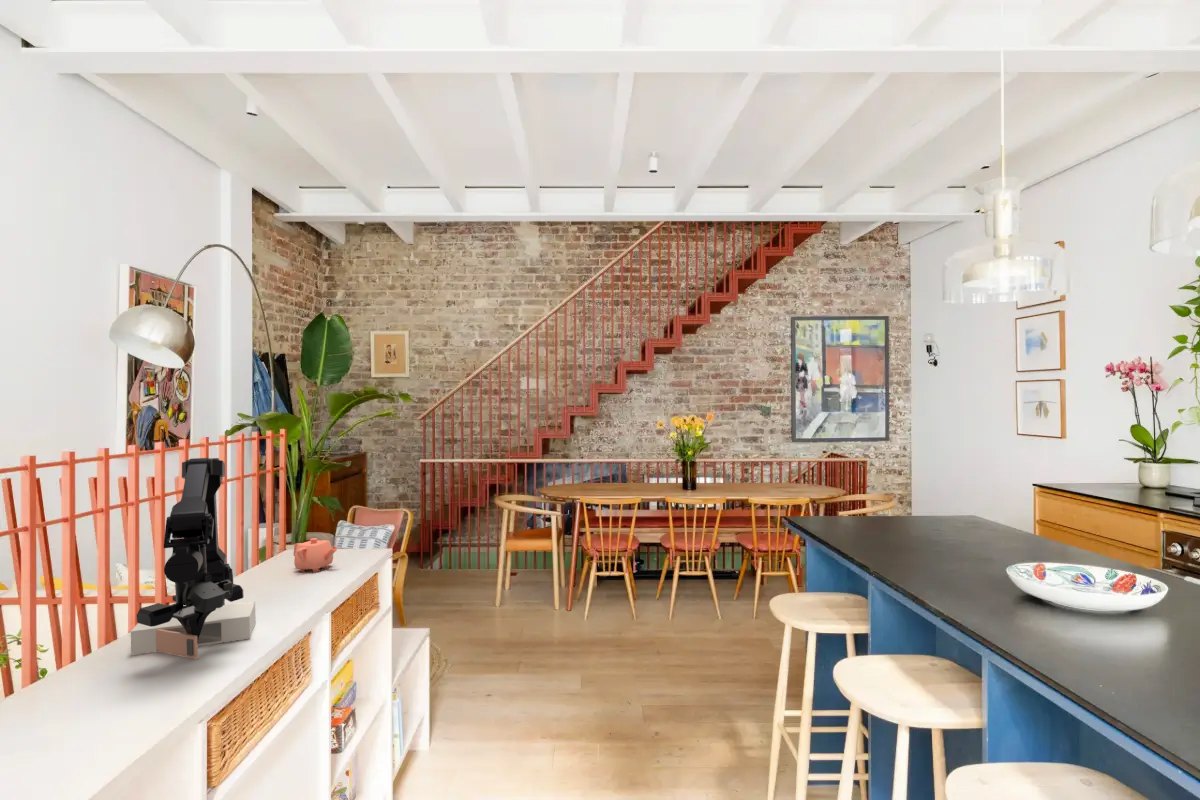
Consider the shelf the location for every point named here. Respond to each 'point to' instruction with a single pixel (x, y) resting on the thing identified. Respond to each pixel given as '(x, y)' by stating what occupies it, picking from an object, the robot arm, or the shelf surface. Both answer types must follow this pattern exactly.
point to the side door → (176, 643)
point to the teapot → (313, 554)
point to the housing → (216, 628)
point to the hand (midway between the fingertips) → (195, 644)
